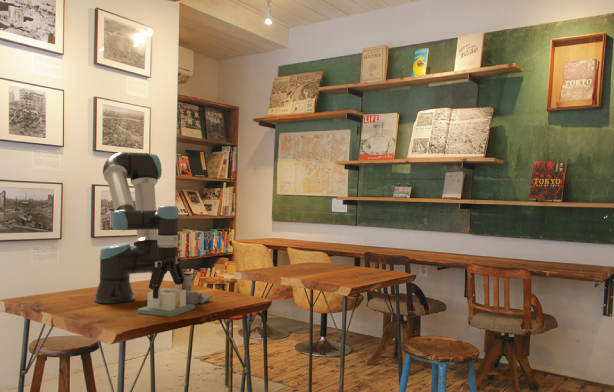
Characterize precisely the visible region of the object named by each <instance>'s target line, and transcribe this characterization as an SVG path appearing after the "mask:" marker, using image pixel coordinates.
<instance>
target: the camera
mask: <svg viewBox="0 0 614 392" xmlns="http://www.w3.org/2000/svg"><path fill="white" fill-rule="evenodd" d="M183 277H184V281H183V284H181V289H182V290H186V304H193V305H195V306H196V305H198V304H204V303H206V302H208V301H209V300H210V299H212V298H213V295H207V294H203V292H200V291H193V290H192V283H193V278H194V276H193V275H191V274H183Z"/></svg>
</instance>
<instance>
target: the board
mask: <svg viewBox="0 0 614 392" xmlns="http://www.w3.org/2000/svg"><path fill="white" fill-rule="evenodd" d="M165 293H170V292H165ZM195 309H196V304H195V305H193V304H186V306H183V307H178V298H175V309H173V310H170V311H168V310H159V309H150V308H147V305H146V306H143V307H139V308H137V314H141V315H142V314H143V315H153V316H160V317H168V318H169V317H170V318H172V317H175V316H178V315H180V314H183V313H186V312H189V311H192V310H195Z"/></svg>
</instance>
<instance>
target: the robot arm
mask: <svg viewBox="0 0 614 392" xmlns="http://www.w3.org/2000/svg"><path fill="white" fill-rule="evenodd" d="M162 170H163V169H162V163H161V160H160V158H159V156H158V155H157V154H155V153H149V152H133V151H132V152H128V151H119V152H116V153H114V154H112V155H111V156H110V157H108V158H107V159H106V161H105V163H104V165H103V167H102V174H103V175H102V176H103V178H104V180H105V181H106V182H107V184H108V185H107V186H108V188H109V193H110V197H111V201H112V206H113V211H112V212H111V213H110V214H111V215H110V225H111V228H112V229H113V230H115V231H136V240H135V241H133V245H131V244H130V243H129V242H124V243H123V242H122V243H115V244H114V243H113V244H108V245H105V246H103V247H102V248H101V249H100V253H99V283H98V287H97V289H96V293H95V295H94V301H95V303H97V304H121V303H128V302H131V301H134V298H135V297H134V296H135V295H134V292H133V287H132V285H131V282H130V281H131V280H130V277H131V276H130V275H134V274H148V273H150V274H151V275H150V280H149V284H148V288H149V289H150V290H152V291H153V307H161V289H162V288H161V285H162V283H163V280H164V278H165V275H166V274H167V272H169V274H170V276H171V278H172V280H173V281H172V282H173V285H172V289H181V285H182V284H183V281H184V277H183V275H184V273H183V269H182V262H181V261H182V260H181V258H177V257H178V256H179V253H178V252H179V247H178V245H179V244H178V243H179V236H178V235H179V216H180V215H179V207H178V206H176V205H160V206H158V209H157V206H156V205H157V204H156V188H155V186H156V185H157V184H158V181H159V180H160V179H161V177H162ZM127 179H129V180H130V184H131V185H132V186H133V187H134V200H135V201H134V200H133V197H132V193H131V190H130V186H129V183H128V180H127ZM134 202H135V203H134Z"/></svg>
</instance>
